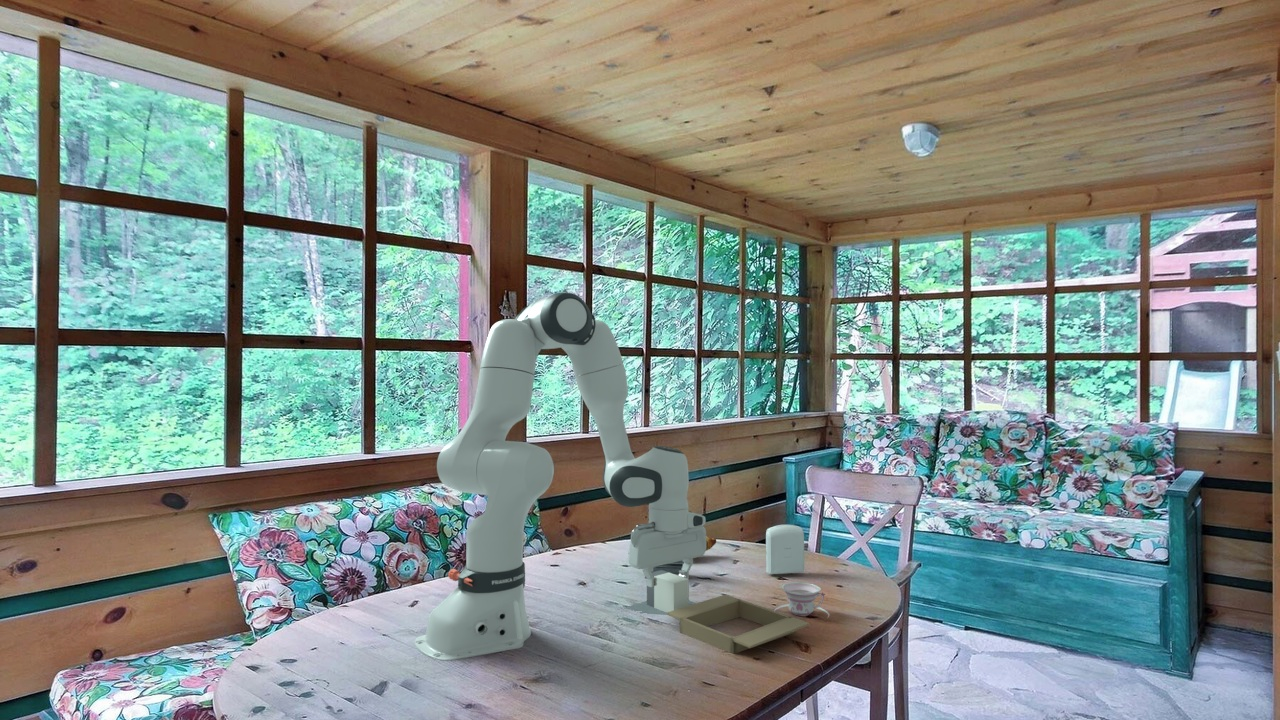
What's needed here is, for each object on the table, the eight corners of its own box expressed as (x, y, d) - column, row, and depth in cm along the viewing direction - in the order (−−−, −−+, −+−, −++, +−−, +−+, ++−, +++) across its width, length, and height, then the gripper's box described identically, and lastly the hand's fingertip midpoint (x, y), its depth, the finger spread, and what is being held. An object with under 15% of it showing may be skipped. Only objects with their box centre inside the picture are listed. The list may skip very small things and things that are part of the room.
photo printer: (769, 575, 187) (769, 527, 187) (763, 570, 191) (763, 523, 191) (806, 573, 189) (806, 526, 189) (800, 568, 193) (800, 522, 193)
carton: (750, 668, 131) (750, 646, 131) (666, 632, 148) (666, 612, 148) (809, 643, 142) (809, 623, 142) (725, 612, 160) (725, 594, 160)
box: (673, 615, 156) (673, 583, 156) (646, 604, 163) (646, 573, 163) (688, 610, 159) (688, 579, 159) (661, 600, 166) (661, 569, 166)
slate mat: (664, 626, 152) (664, 623, 152) (625, 609, 162) (625, 607, 162) (711, 611, 161) (711, 608, 161) (671, 596, 171) (671, 593, 171)
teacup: (769, 621, 155) (769, 592, 155) (778, 603, 166) (778, 576, 166) (827, 628, 151) (827, 599, 151) (832, 609, 162) (832, 582, 162)
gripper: (640, 528, 151) (640, 594, 151) (711, 516, 164) (710, 577, 164) (622, 523, 156) (622, 587, 156) (692, 512, 169) (691, 571, 169)
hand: (668, 582), depth 160 cm, fingers open, 8 cm apart
